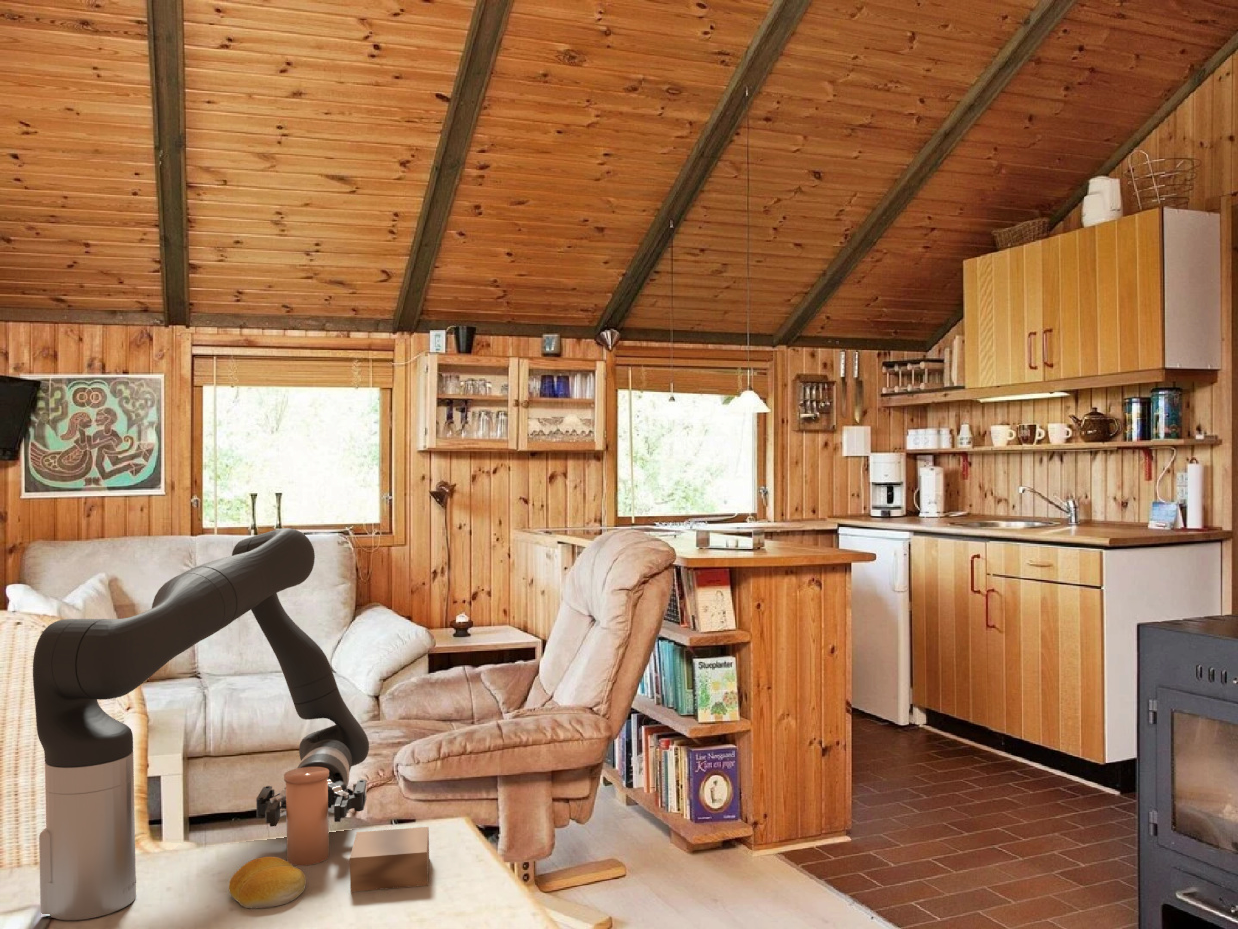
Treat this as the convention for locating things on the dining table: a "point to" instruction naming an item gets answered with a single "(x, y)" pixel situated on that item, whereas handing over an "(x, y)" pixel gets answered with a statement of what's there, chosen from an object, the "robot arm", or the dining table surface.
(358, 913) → the dining table surface
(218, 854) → the dining table surface
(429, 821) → the dining table surface
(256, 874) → the bread roll
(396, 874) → the plinth
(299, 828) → the jar
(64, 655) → the robot arm
